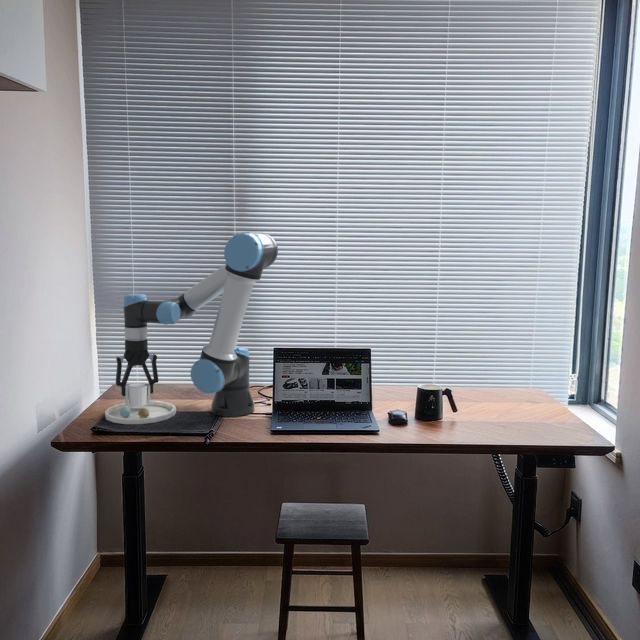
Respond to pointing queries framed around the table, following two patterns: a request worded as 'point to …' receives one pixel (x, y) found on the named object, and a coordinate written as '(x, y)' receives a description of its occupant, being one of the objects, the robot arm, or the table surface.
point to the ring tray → (156, 411)
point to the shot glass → (137, 394)
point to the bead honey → (143, 413)
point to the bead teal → (125, 412)
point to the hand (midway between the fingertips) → (137, 403)
